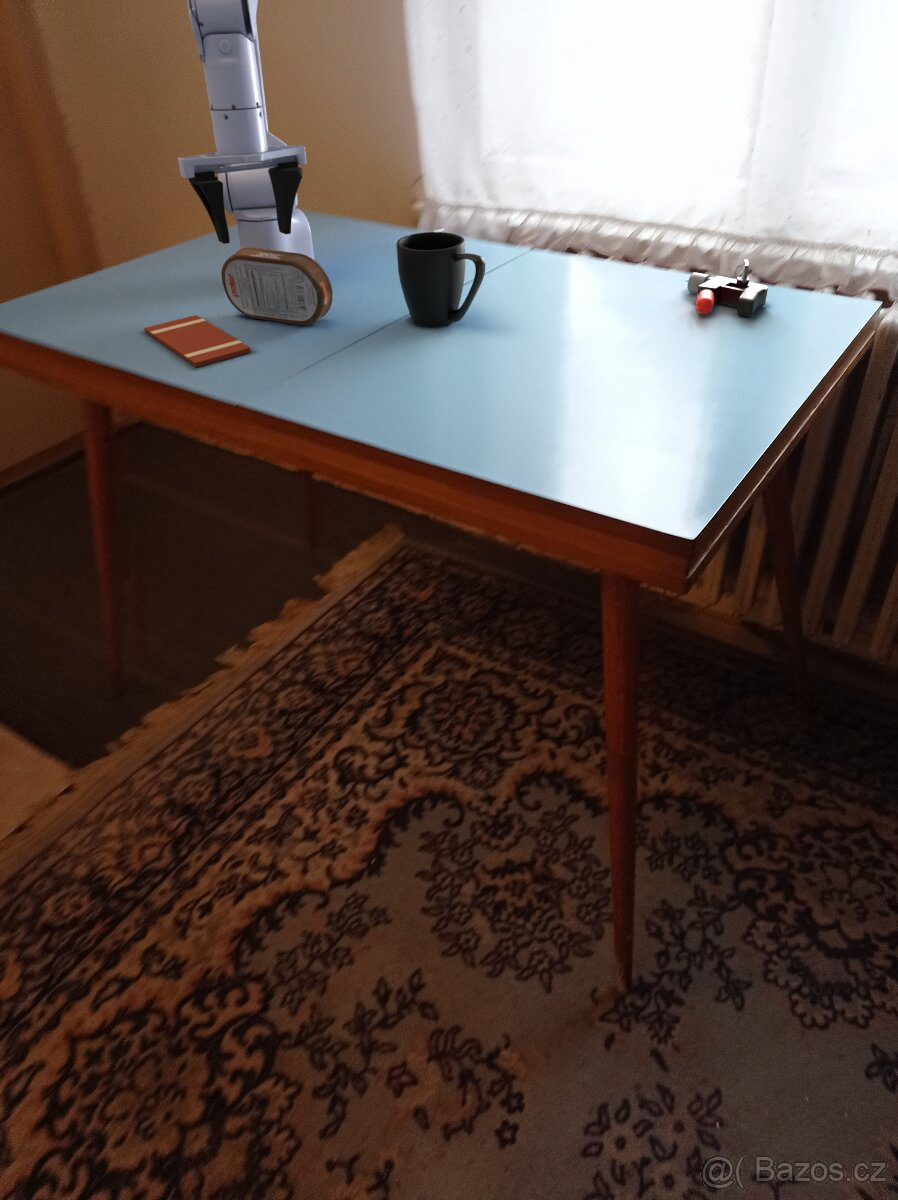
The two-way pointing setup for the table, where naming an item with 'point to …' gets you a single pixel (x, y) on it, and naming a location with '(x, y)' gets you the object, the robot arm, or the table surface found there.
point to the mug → (436, 277)
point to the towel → (197, 340)
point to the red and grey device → (727, 292)
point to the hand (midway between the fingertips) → (255, 237)
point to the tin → (277, 286)
